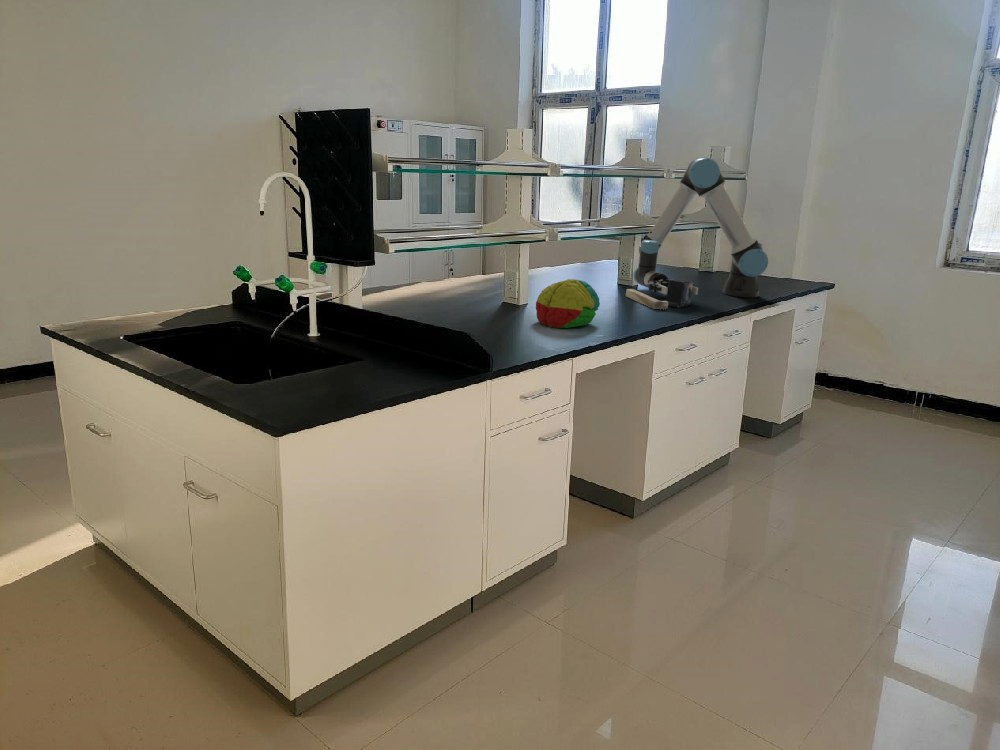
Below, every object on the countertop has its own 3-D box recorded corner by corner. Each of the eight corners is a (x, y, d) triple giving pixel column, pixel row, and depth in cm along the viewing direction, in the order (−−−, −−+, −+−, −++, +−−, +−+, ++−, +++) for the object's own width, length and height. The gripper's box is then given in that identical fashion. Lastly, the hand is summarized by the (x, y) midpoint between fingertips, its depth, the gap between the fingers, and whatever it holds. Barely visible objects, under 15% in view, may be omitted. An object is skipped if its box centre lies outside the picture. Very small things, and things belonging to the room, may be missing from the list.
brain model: (568, 312, 259) (571, 271, 254) (611, 323, 246) (614, 280, 241) (523, 323, 243) (524, 279, 238) (565, 335, 230) (568, 289, 225)
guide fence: (637, 296, 300) (638, 289, 300) (667, 309, 277) (668, 302, 276) (625, 296, 299) (626, 289, 298) (654, 309, 275) (655, 302, 274)
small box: (680, 308, 280) (683, 282, 277) (664, 305, 284) (668, 279, 281) (691, 305, 289) (694, 279, 286) (676, 302, 292) (679, 277, 289)
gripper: (681, 290, 307) (708, 300, 288) (628, 289, 300) (651, 300, 281) (684, 272, 305) (711, 281, 286) (630, 272, 298) (654, 281, 279)
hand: (681, 291), depth 283 cm, fingers open, 13 cm apart
